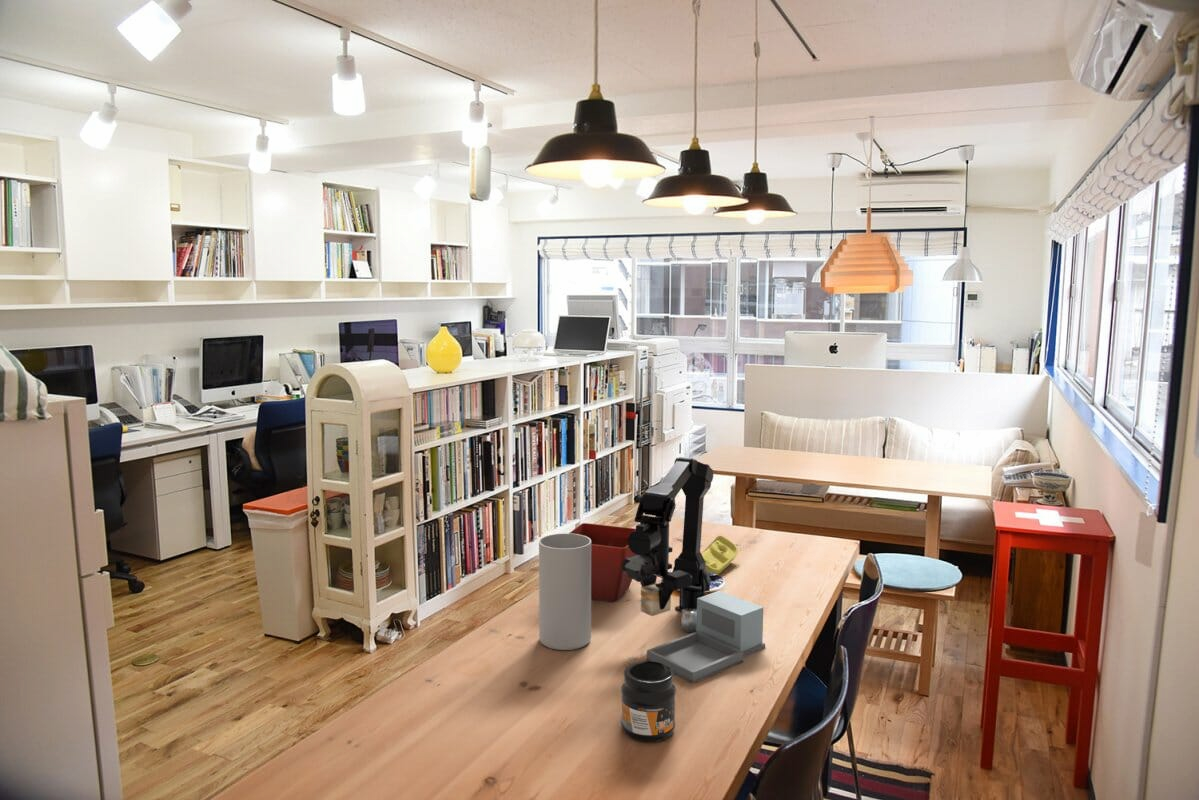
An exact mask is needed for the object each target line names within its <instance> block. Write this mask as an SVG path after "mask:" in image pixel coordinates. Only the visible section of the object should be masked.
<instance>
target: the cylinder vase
mask: <svg viewBox="0 0 1199 800" xmlns="http://www.w3.org/2000/svg"><path fill="white" fill-rule="evenodd" d="M538 599H539V600H538V603H539V604H538V607H539V608H538V609H539V611H538V612H539V613H538V615H539V616H538V617H539V619H538V620H539V623H538V625H539V627H538V628H539V634H538V635H539V636H538V638H539V641H540V643H541V644H542V645H543V646H545V647H546V648H549V649H552V650H557V651H573V650H578V649H580V648H581V649H582V648H583V647H585V646H587V645H588V644H589V643H590V641H591V638H592V599H591V539H590V538H588V537H586V536H583V535H579V534H570V532H568V533H566V532H565V533H554V534H552V533H551V534H548V535H545V536H543V537H541V538H540V539H539V540H538Z"/></svg>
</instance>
